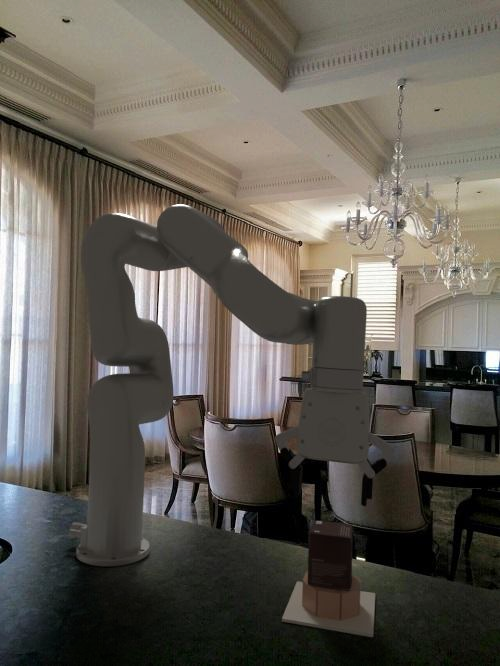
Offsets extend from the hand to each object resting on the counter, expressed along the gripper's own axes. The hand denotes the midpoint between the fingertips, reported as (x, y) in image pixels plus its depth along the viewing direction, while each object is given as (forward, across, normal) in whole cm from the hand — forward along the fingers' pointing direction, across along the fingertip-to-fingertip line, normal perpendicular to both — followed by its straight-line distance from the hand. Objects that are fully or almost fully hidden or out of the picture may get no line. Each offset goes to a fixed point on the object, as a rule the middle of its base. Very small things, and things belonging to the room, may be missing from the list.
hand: (330, 498), depth 73 cm
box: (+12, +1, 0) cm, 12 cm away
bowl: (+15, +1, 0) cm, 15 cm away
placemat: (+15, +1, 0) cm, 15 cm away
